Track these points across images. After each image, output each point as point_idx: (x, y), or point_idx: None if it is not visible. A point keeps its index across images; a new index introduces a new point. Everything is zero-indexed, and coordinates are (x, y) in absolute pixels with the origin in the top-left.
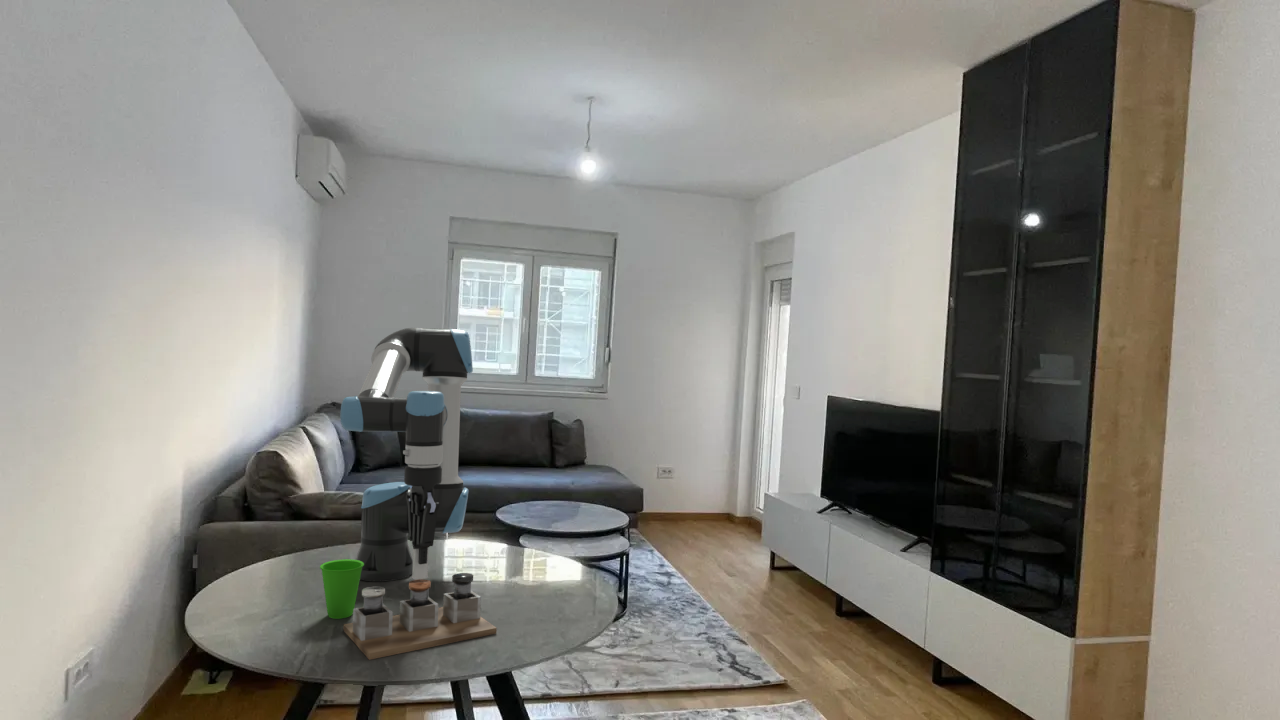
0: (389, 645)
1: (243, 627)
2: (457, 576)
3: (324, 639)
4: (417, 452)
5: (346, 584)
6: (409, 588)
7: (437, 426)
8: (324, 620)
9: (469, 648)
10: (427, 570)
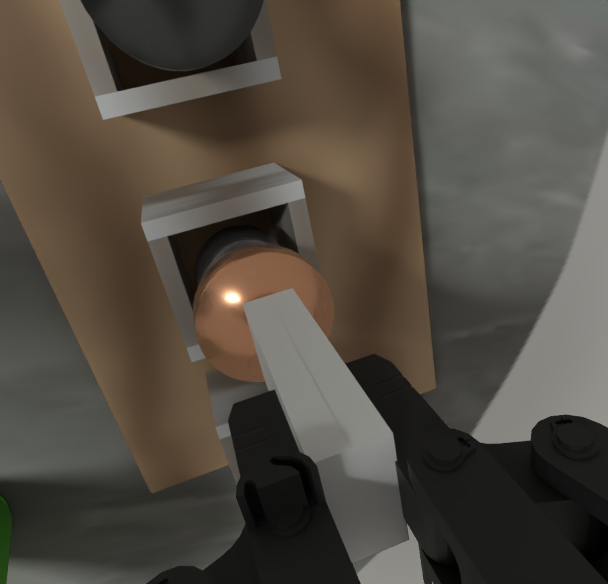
0: (401, 339)
1: None
2: (179, 21)
3: (224, 509)
4: None
5: None
6: None
7: None
8: (24, 550)
9: (476, 60)
10: (308, 312)
